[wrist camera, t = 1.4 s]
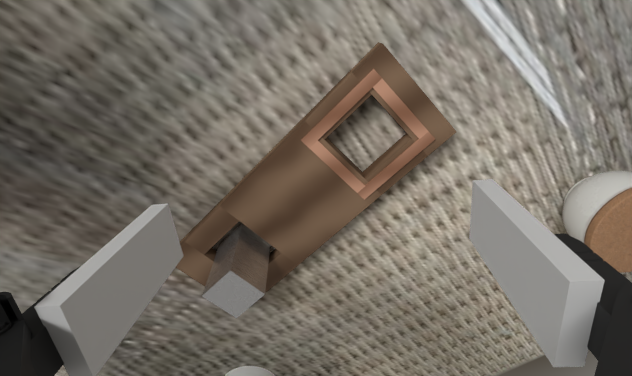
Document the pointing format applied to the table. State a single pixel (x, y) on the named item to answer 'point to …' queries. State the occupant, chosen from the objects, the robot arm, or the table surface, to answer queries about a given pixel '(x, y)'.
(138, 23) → the table surface
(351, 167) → the walnut rail
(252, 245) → the steel block
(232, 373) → the cylinder with rectangular tab
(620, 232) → the lidded jar
